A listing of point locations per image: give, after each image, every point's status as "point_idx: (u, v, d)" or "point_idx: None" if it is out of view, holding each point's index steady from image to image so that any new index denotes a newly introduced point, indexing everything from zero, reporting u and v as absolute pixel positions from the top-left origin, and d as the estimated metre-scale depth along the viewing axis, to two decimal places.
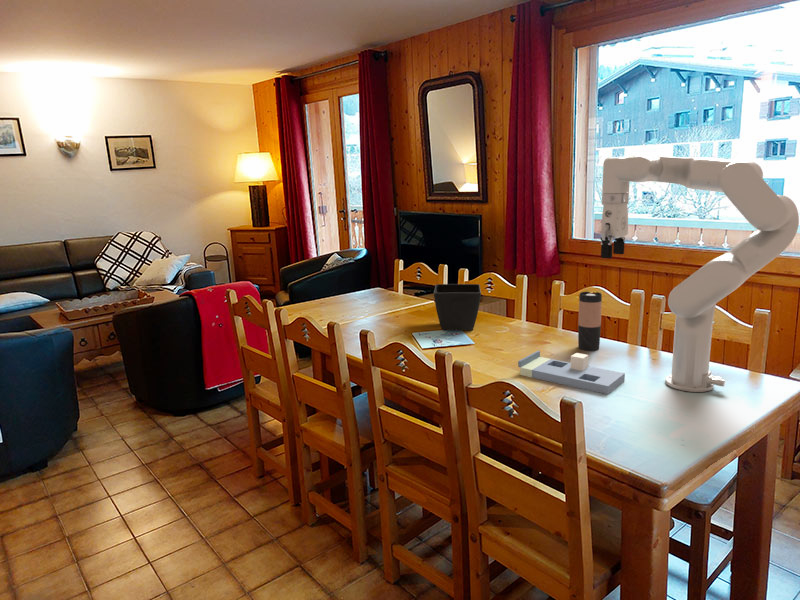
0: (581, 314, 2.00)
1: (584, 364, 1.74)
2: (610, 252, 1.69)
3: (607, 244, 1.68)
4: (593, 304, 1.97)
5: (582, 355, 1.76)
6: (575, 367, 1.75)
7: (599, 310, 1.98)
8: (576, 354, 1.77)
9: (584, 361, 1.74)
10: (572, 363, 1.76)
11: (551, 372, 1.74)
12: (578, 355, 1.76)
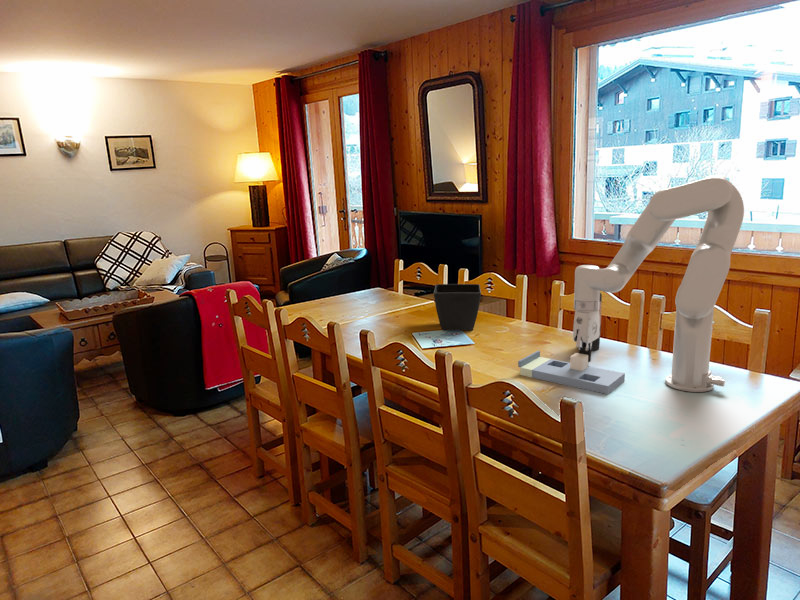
0: None
1: (583, 364, 1.74)
2: None
3: None
4: None
5: (582, 355, 1.76)
6: (575, 367, 1.75)
7: (599, 310, 1.98)
8: (576, 354, 1.77)
9: (584, 361, 1.74)
10: (572, 363, 1.76)
11: (551, 372, 1.74)
12: (578, 355, 1.76)
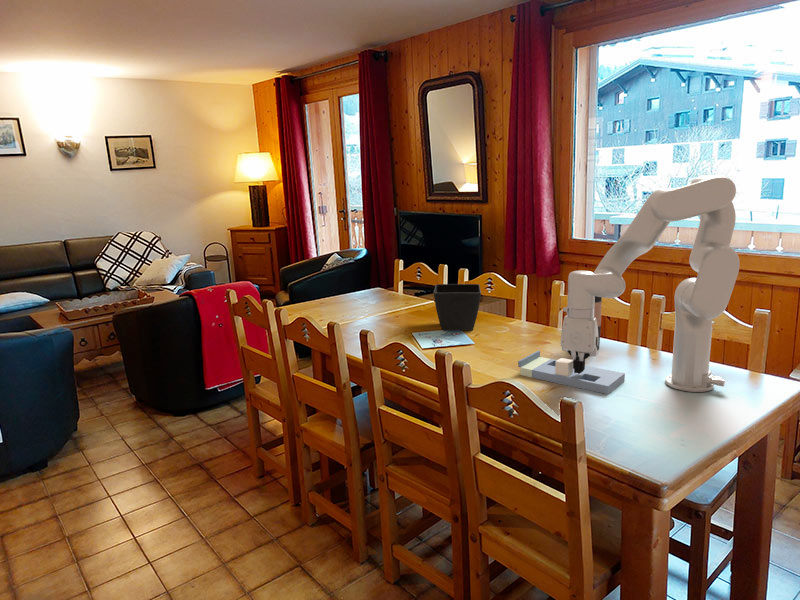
0: None
1: (569, 369, 1.70)
2: None
3: None
4: None
5: (567, 360, 1.72)
6: (560, 373, 1.71)
7: (599, 310, 1.98)
8: (561, 359, 1.73)
9: (569, 366, 1.70)
10: (557, 369, 1.72)
11: (551, 372, 1.74)
12: (563, 360, 1.72)
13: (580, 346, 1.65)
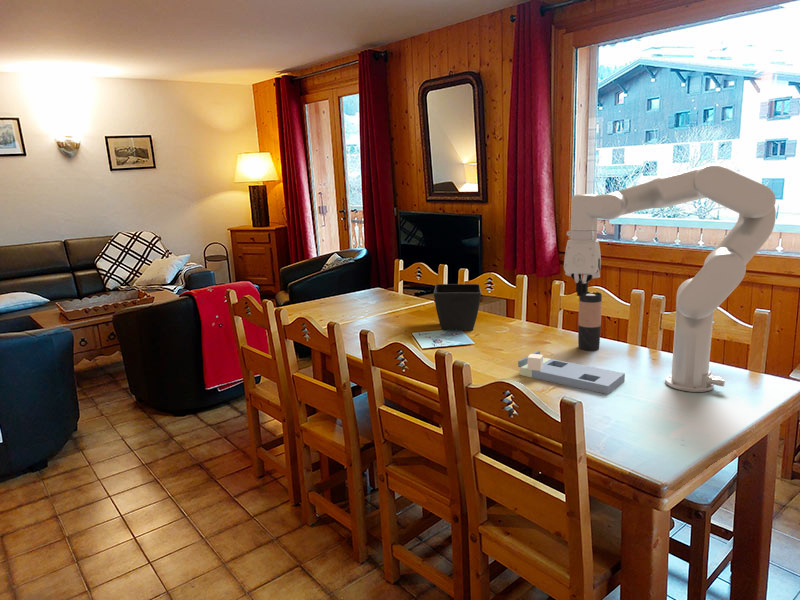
0: (581, 314, 2.00)
1: (541, 364, 1.76)
2: None
3: None
4: (593, 304, 1.97)
5: (538, 355, 1.77)
6: (532, 368, 1.76)
7: (599, 310, 1.98)
8: (531, 355, 1.78)
9: (541, 361, 1.76)
10: (529, 364, 1.76)
11: (551, 372, 1.74)
12: (534, 355, 1.78)
13: (583, 268, 1.70)
